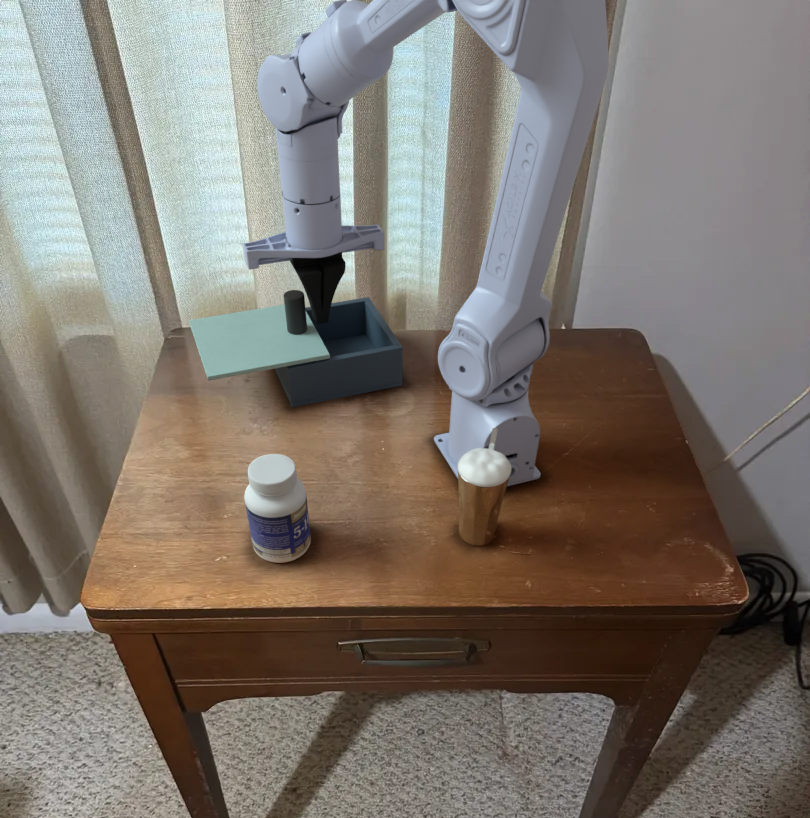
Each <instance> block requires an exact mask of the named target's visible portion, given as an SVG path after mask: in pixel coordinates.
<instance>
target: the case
mask: <svg viewBox="0 0 810 818" xmlns="http://www.w3.org/2000/svg"><path fill="white" fill-rule="evenodd" d="M305 310H306V312H307V314H308V316H309V318H310V319H311V321H312V323H313V325H314V327H315V329H316V330H317V332H318V334H319V336H320V338H321V340H322V341H323V343H324V345H325V347H326V349H327V350H328V352H329V354H330V358H329V359H323V360H318V361H312V362H307V363H302V364H296V365H291V366H285V367H280V368H275V369H274V370H275V373H276V374H277V377H278V379H279V380H280V384H281V386H282V388H283V391H284V392H285V394H286V397H287V399H288V401H289V403H290V407H291V408H296V407H301V406H306V405H313V404H316V403H322V402H327V401H332V400H336V399H341V398H347V397H351V396H357V395H361V394H362V395H363V394H368V393H371V392H376V391H381V390H382V391H383V390H386V389H387V390H388V389H392V388H397V387H401V386H403V374H404V373H403V371H404V369H403V366H404V364H403V363H404V347H403V345H402V344H401V343H400V342H401V341H399V339H398V338H397V337H396V335H395V334H394V332H393V331H392V329H391V327H390V326H389V325H388V323H387V321H386V320H385V318H383V315H382V314H381V313H380V311H379V310H378V308H377V307H376V305H375V304H374V302H373V301H372V300H371V299H370V297H369V296H368V297H360V298H355V299H349V300H344V301H336V302H332V304H331V308H330V313H329V321H328V322H327V323H322V324H317V323H316V321H315V320H314V318H313V316H312V311H311V307H310V306H307V307H306V306H305Z"/></svg>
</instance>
